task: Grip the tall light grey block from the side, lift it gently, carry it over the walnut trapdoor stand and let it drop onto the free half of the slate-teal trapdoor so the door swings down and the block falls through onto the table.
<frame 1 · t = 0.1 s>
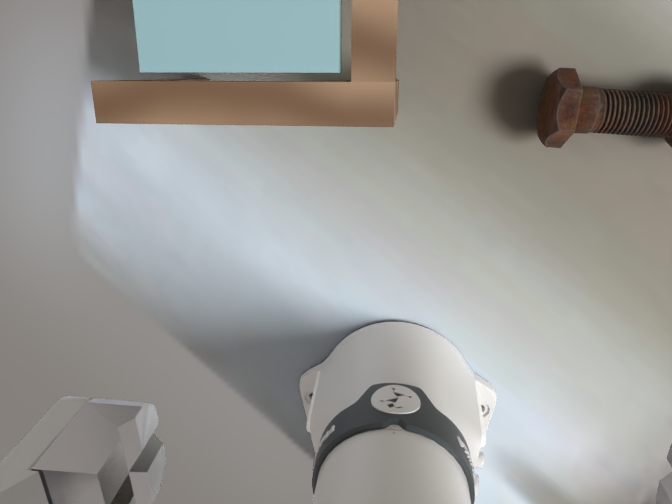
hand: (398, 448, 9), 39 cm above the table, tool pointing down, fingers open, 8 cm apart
bolt: (635, 113, 43), on the table
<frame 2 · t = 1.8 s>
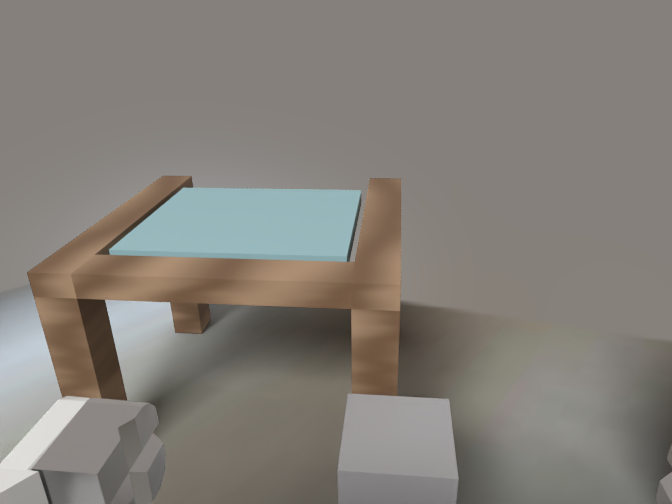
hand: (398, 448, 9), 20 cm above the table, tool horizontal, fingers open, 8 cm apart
trapdoor: (251, 223, 37), point 14 cm above the table, hinge at 0.0°
trapdoor frame: (266, 384, 42), on the table
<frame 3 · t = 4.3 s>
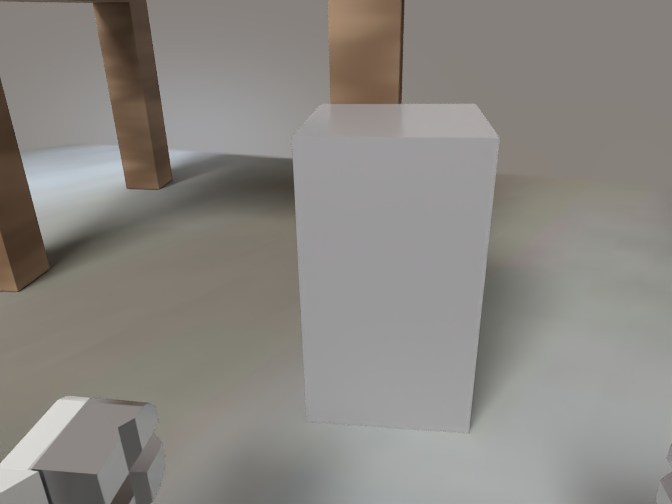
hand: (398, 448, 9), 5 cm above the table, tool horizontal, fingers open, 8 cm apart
light grey block: (388, 377, 19), on the table
trapdoor frame: (230, 224, 33), on the table
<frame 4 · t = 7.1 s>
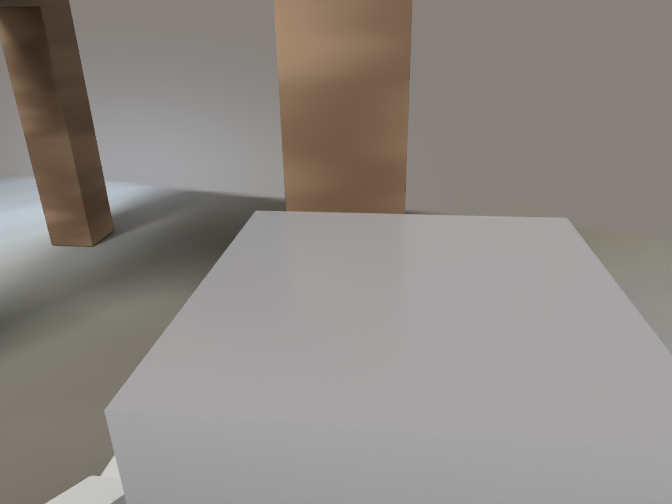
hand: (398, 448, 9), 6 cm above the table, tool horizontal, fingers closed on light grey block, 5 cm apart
trapdoor frame: (172, 311, 24), on the table
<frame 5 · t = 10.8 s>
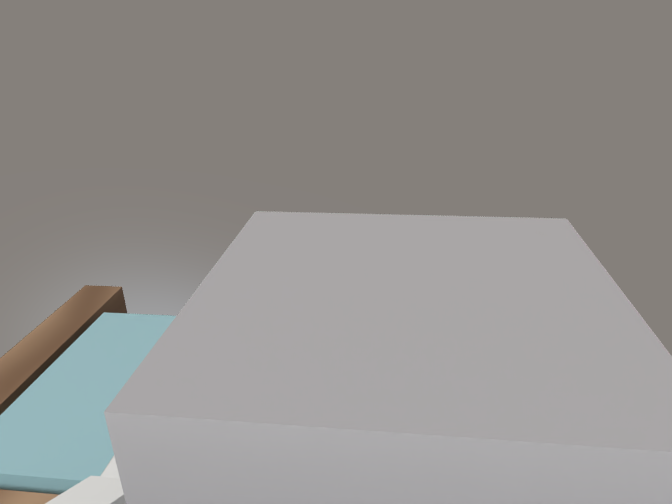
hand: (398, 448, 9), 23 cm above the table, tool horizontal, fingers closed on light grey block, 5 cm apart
trapdoor: (179, 391, 26), point 14 cm above the table, hinge at 0.0°
when the fingers open (22 cm above the table, at t = 14.5 s): light grey block drops 8 cm and tips over, point 9 cm above the table.
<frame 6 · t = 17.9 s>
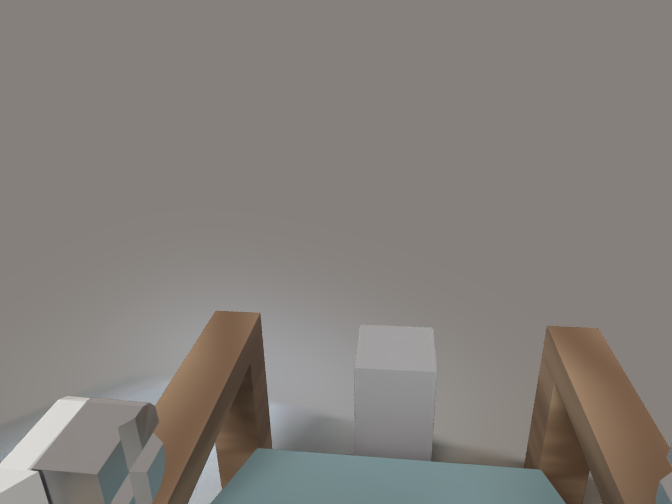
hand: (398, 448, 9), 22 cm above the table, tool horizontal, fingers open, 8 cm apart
light grey block: (395, 346, 35), point 9 cm above the table, tilted 180°
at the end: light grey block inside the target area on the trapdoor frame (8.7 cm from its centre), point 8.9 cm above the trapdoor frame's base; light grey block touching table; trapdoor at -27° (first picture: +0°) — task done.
